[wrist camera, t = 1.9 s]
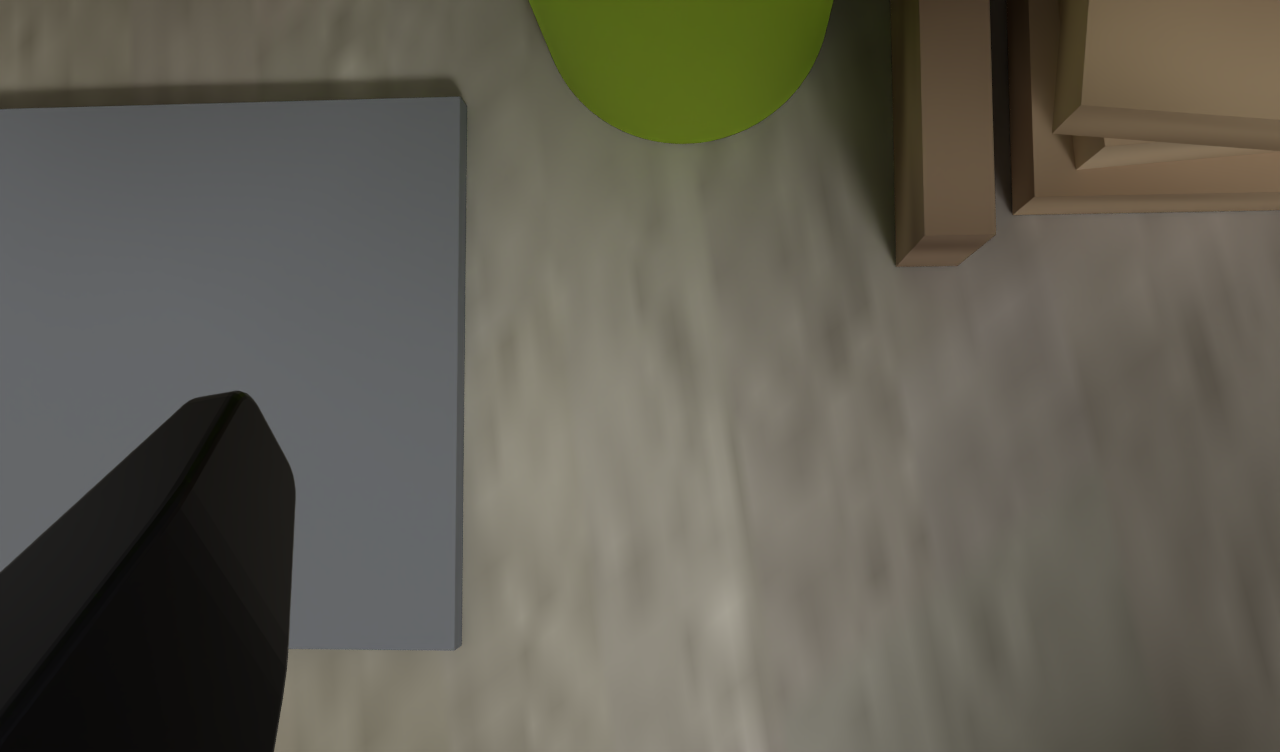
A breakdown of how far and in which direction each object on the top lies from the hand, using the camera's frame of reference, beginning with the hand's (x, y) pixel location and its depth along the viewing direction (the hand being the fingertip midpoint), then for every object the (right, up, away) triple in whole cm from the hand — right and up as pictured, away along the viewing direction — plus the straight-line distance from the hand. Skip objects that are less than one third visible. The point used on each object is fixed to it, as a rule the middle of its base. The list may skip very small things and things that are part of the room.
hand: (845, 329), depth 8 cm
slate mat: (-11, 0, +14) cm, 18 cm away
